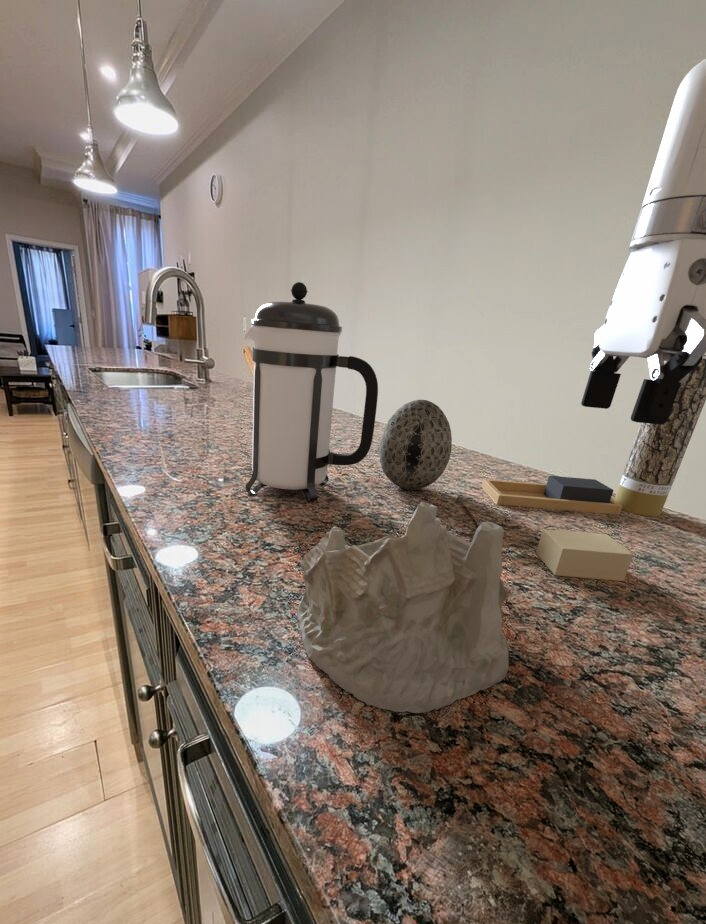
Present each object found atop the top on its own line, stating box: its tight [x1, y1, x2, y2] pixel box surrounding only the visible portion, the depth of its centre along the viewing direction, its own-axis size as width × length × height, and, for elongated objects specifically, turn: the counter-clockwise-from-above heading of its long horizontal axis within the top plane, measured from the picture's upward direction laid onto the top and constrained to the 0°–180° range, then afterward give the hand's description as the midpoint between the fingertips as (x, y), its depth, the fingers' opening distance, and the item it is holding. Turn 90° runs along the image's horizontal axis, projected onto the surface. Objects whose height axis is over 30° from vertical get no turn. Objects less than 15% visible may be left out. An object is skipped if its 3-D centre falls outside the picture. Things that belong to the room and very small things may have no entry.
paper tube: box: [613, 354, 706, 518], centre depth 70 cm, size 7×7×25 cm
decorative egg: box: [378, 399, 453, 491], centre depth 75 cm, size 12×12×15 cm
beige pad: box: [535, 528, 634, 582], centre depth 53 cm, size 8×6×4 cm
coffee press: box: [243, 281, 379, 503], centre depth 67 cm, size 17×16×30 cm
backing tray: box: [481, 478, 623, 516], centre depth 75 cm, size 20×9×2 cm, turn 88°
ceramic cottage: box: [296, 501, 511, 714], centre depth 36 cm, size 16×16×15 cm
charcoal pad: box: [544, 475, 615, 503], centre depth 74 cm, size 8×6×4 cm
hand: (618, 414), depth 48 cm, fingers open, 9 cm apart
